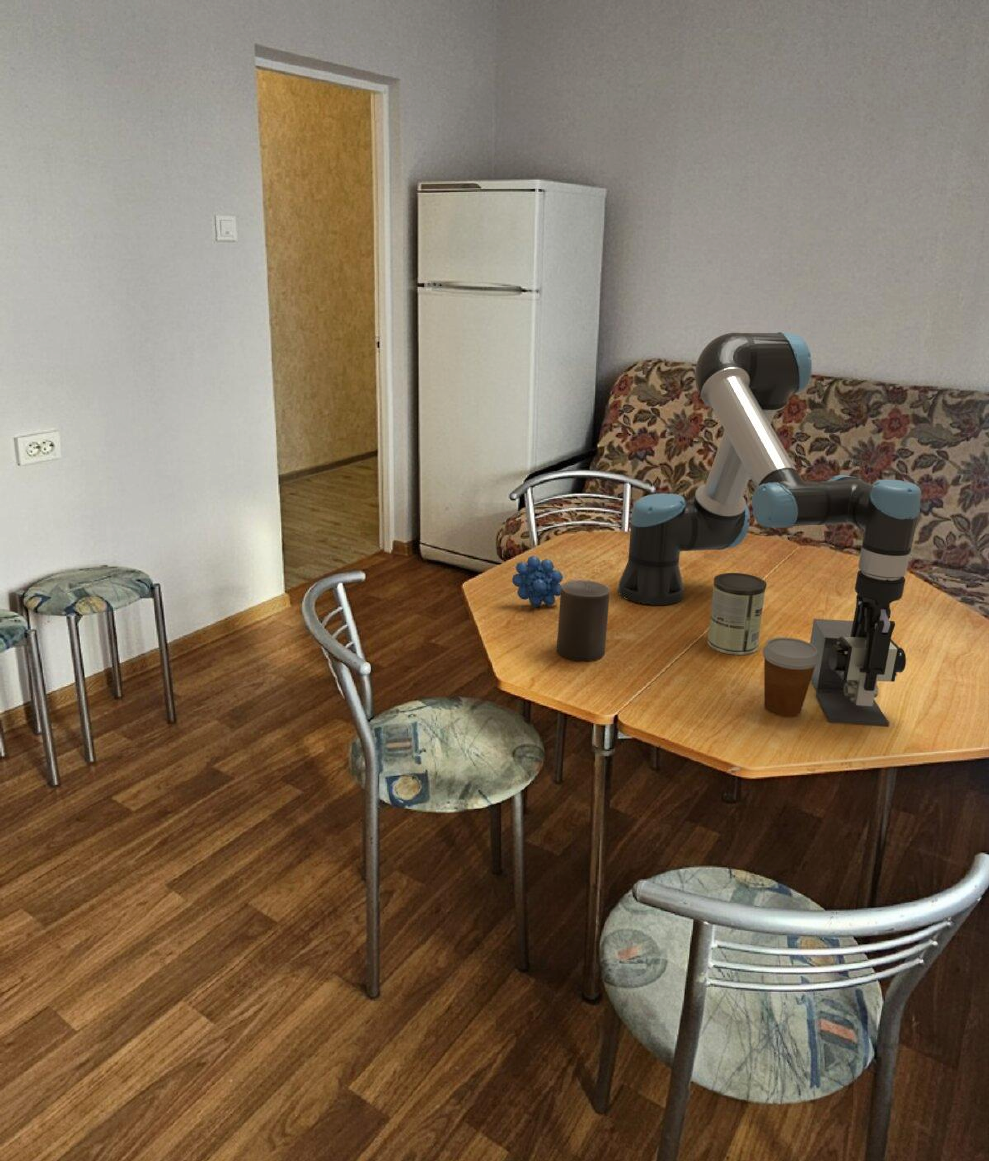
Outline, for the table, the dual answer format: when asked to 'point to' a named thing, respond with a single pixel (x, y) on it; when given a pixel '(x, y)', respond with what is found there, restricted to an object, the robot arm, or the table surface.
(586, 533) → the table surface
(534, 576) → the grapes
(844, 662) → the pneumatic valve
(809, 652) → the disposable coffee cup
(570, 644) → the pillar candle
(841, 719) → the pad
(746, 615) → the coffee can
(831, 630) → the block
